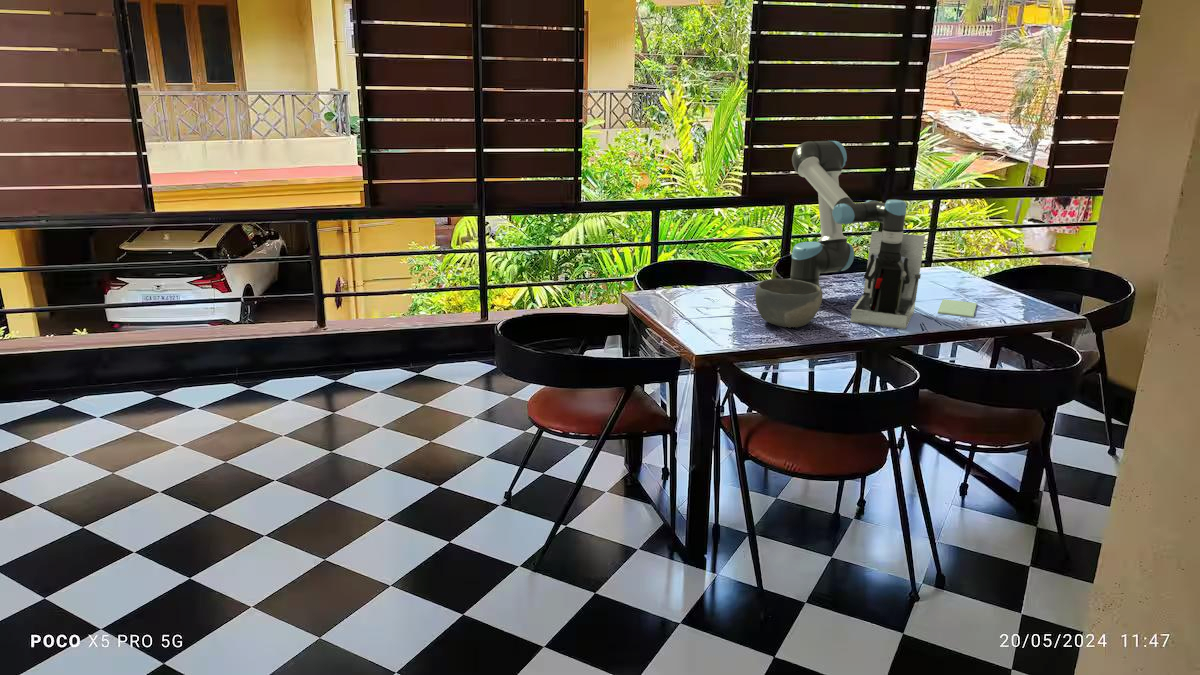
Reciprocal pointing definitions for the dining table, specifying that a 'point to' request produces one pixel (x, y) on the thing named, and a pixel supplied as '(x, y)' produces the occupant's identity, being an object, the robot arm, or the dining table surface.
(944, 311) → the mat
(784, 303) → the bowl
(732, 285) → the dining table surface
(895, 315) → the case
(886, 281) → the electrical component
